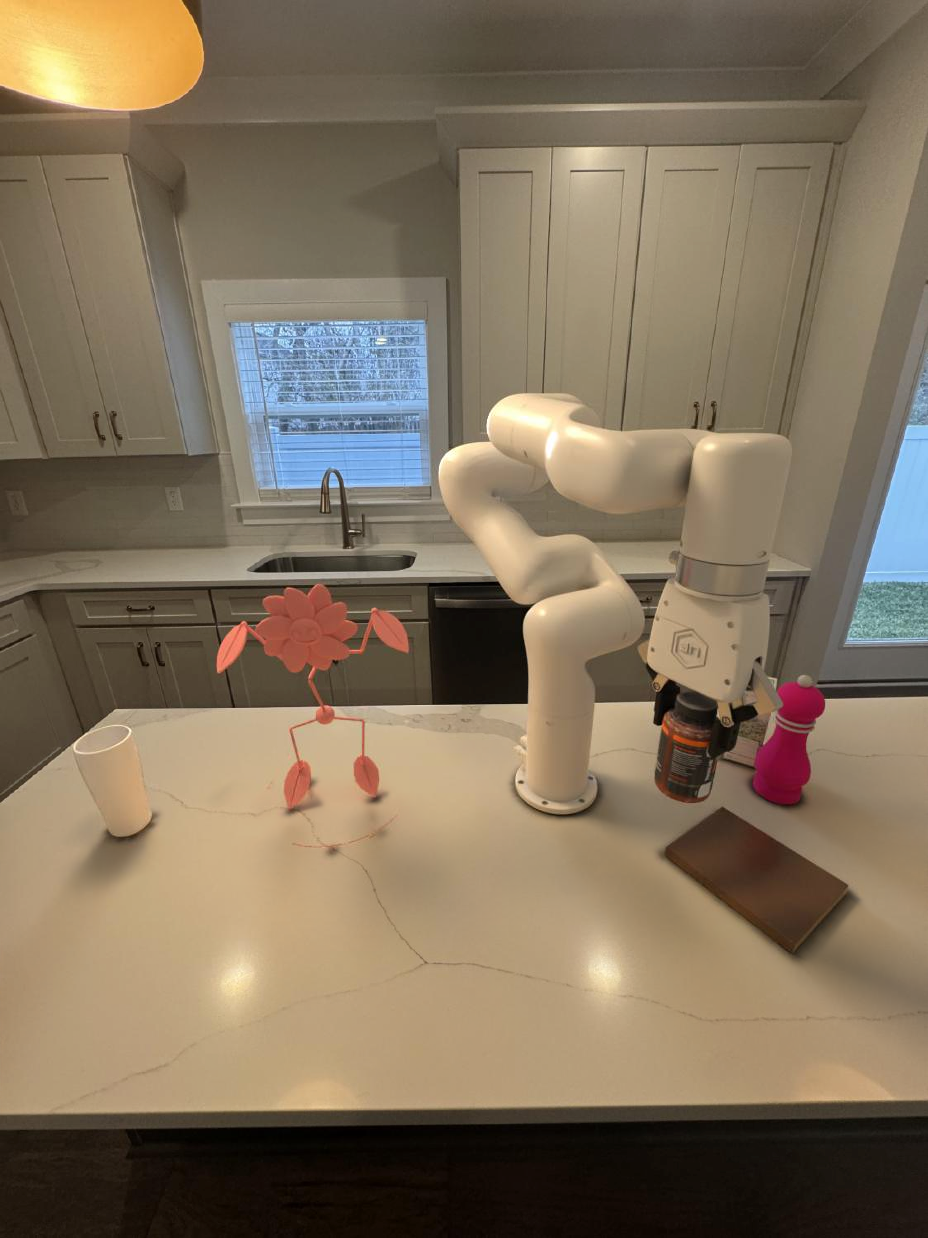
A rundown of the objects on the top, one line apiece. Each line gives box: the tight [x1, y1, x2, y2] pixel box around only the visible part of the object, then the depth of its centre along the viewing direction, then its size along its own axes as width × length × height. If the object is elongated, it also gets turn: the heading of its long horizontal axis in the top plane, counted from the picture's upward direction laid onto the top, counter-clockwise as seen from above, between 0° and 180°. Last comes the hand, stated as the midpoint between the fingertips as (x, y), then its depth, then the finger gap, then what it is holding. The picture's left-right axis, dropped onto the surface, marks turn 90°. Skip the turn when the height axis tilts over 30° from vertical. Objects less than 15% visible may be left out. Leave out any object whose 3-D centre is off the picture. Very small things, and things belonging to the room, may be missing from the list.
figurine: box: [216, 583, 410, 851], centre depth 69 cm, size 15×26×35 cm, turn 97°
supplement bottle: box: [653, 690, 720, 804], centre depth 54 cm, size 6×6×11 cm
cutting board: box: [664, 806, 850, 954], centre depth 64 cm, size 16×13×2 cm
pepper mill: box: [752, 674, 826, 805], centre depth 74 cm, size 7×7×20 cm
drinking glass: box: [72, 724, 153, 838], centre depth 71 cm, size 7×7×15 cm
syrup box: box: [719, 676, 778, 769], centre depth 83 cm, size 6×6×14 cm
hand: (691, 734), depth 54 cm, fingers closed on supplement bottle, 5 cm apart
